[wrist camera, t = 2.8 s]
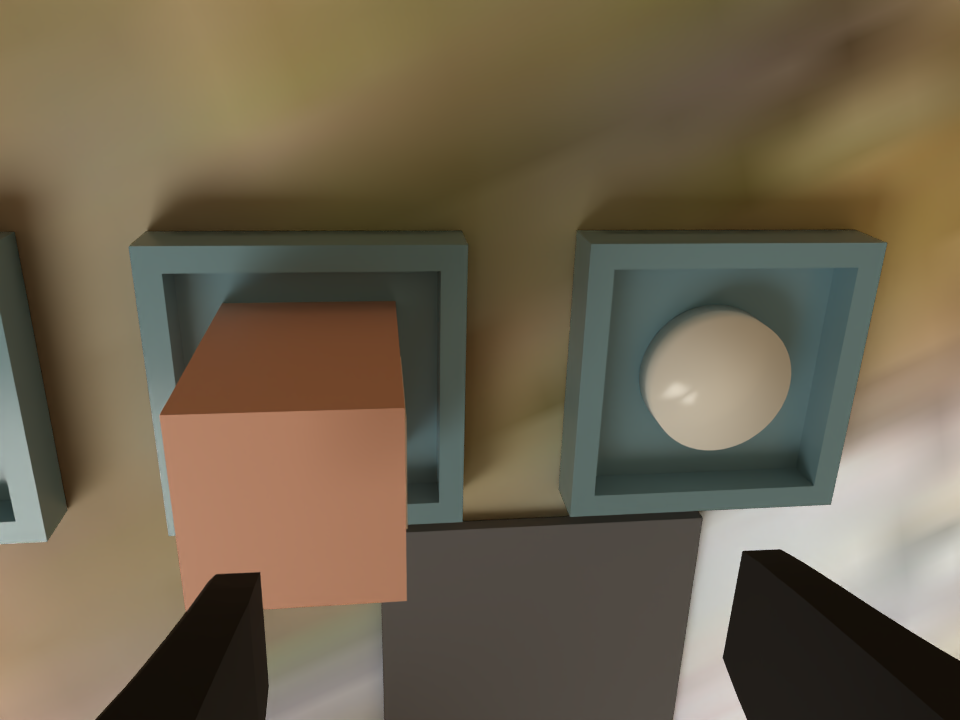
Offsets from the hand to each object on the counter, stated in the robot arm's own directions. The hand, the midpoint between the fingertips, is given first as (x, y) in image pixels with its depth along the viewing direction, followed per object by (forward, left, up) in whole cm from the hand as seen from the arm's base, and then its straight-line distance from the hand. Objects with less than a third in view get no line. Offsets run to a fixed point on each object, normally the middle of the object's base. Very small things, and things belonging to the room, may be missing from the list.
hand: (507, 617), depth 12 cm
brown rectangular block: (0, +3, -9) cm, 10 cm away
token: (0, -7, -9) cm, 11 cm away
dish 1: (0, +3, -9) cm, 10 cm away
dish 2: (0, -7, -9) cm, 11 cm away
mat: (-9, -3, -9) cm, 13 cm away
